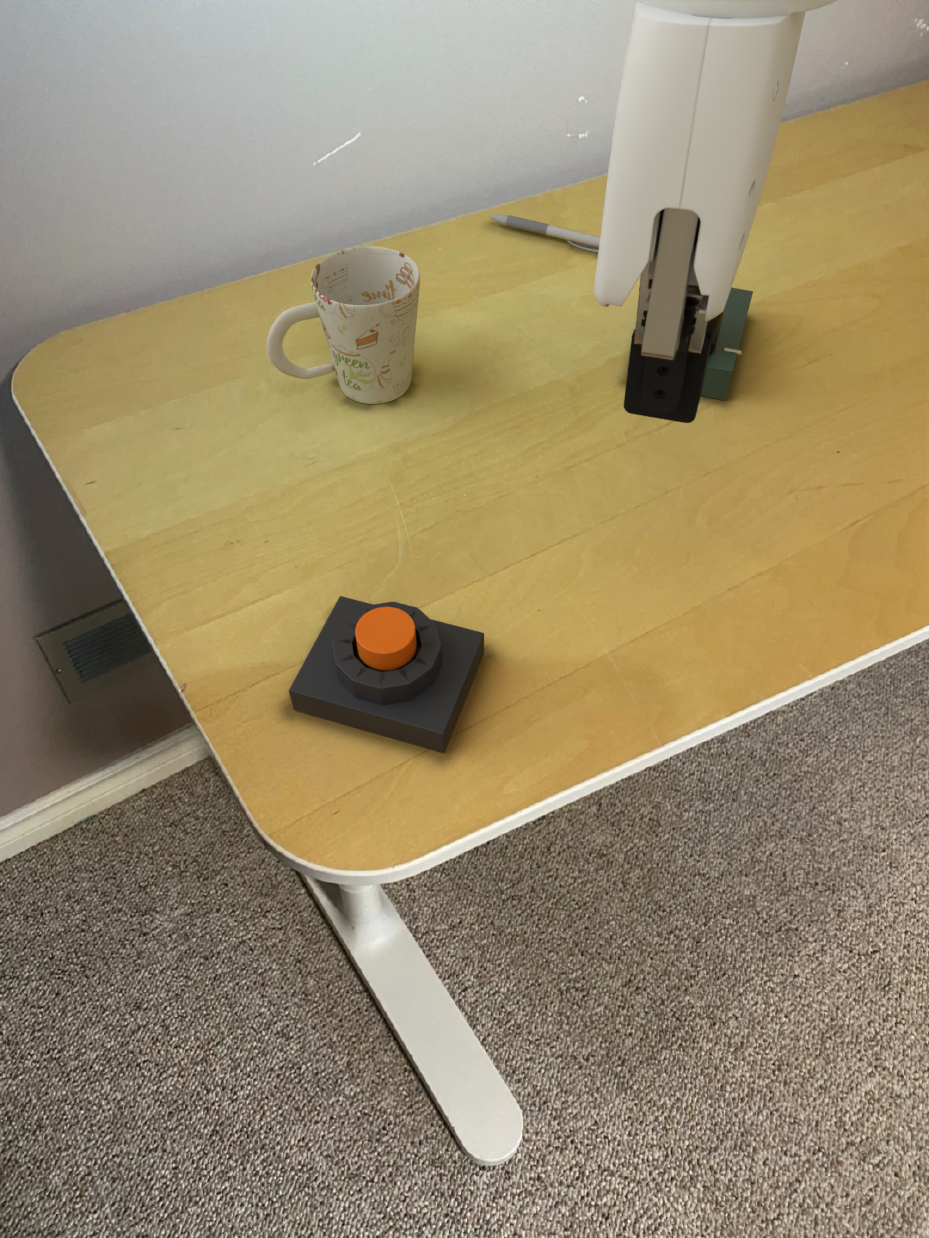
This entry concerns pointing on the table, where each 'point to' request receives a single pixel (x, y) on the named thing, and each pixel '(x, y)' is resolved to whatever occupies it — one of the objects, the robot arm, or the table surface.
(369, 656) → the round orange button
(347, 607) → the push button box
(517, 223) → the pen
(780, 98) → the robot arm
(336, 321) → the mug
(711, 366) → the dial panel
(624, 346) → the table surface
